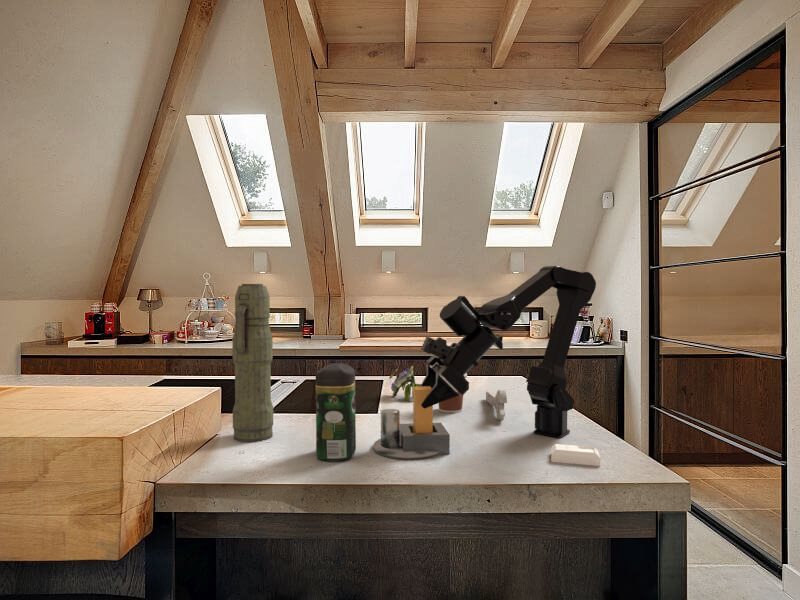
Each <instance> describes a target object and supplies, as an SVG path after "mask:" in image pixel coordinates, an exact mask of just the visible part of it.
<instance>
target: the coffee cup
mask: <svg viewBox="0 0 800 600" xmlns="http://www.w3.org/2000/svg"><path fill="white" fill-rule="evenodd" d="M464 377H465V379H466V378H468V374H467V373H466V374H465V375H464ZM457 393H458V394H459V396H458V397H457V396H456V397H453V398H451V399H448V400H445V401H443V402H440V403H438V411H439V412H441V413H444V412H445V414H458V413H457V412H459V413H461V412H463V401H464V395H463V396H462V395H461V394H460V393H459V392H457Z"/></svg>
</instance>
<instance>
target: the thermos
mask: <svg viewBox="0 0 800 600" xmlns="http://www.w3.org/2000/svg"><path fill="white" fill-rule="evenodd" d="M270 301H271V300H270V294H269V291H268V288H267V286H266V285H264V284H263V283H241V285H238V286H237V290H236V293H235V296H234V315H235V316H234V318H235V325H234V333H233V335H232V362H233V364H234V405H233V409H232V428H233V440H234V441H236V440H237V441H236V442H239V441H242V442H241V443H258V442H257V441H259V442H263V440H264V441H267V440H270V439H271V438H273V434H274V433H273V425H274V405H273V403H272V399H271V398H272V397H271V396H272V395H271V393H272V391H271V389H272V387H271V384H272V383H271V382H272V380H271V378H272V377H271V376H272V374H271V372H272V371H271V369H272V368H271V367H272V366H271V363H272V361H273V354H274V353H273V350H274V348H273V338H274V337H273V334H272V332H271V331H272V330H271V326H270V325H271V324H270V319H269V318H270V316H271V315H270V314H271V312H270V311H271V309H270V305H271V304H270Z"/></svg>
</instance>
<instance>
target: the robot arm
mask: <svg viewBox="0 0 800 600" xmlns="http://www.w3.org/2000/svg"><path fill="white" fill-rule="evenodd" d="M596 287H597V282H596V279H595V278H594V276H593V274H592V273H591V272H588V271H577V270H572V269H567V268H564V267H562V266H559V265H545V266H543V267H541V268H540V269H539V271H537V272H536V273H534V274H533V275H532V276H531V277H530V278H527V280H525V281H524V282H523V283H521V284H519V286H517V287H516V288H515V289H513V290H512V291H510V292H509V293H508V294H505V295H504V296H501V297H497V298H494V299H492V300H490V301H487V302H485V303H484V304H482V306H480V308H478V309H476V308H475V307H474V306H473V305H472V304H471V303H470V301H469V300H468V298H467V297H466V296H465V295H458V296H457V297H456V298H455V299H454V300H452V301H450V302H449V303H448V304H446V305H444V306H443V307H442V309H441V310H440V312H439V318H440V319H441V321H442V322H443V323H445V325H446V326H447V327H448V328H449V329H450V330H451V331H452V332H453V333H454V334H455V335H456V336H458V337H462V336H463V337H462V338H461V339H460V340H459V341H458V342H452V343H451V344H450V345H448V344H447V339H444V338H442V337H440V336H438V337H436V339H434V338H433V337H430V336H427V335H426V337H425V338H424V341H423V343H422V345H421V348H420V349H421V351H423V352H424V353H426V354H429V355H430V354H431V355H432V356H430V358H428V359H427V360H426V362H427V363H426V364H425V367H426V375H425V377H424V379H423V380H422V382H421V383H420V384H421V386H430V387H431V388H432V389H431V391H430V392H429V394H428V395H427V396H426V398H425V399H424V401H423V402H422V404H421V406H422V407H423V408H424V409H425V408H428V407H430V406H433V407H434V406H435V405H439V403H440V402H443V401H445V400H448V399H451V398H453V397H456V396H457V397H458V396H459V394H458V393H457V392H459V393H460V394H461V395H462V396H463V397H464V395H465V394H466V393H467V392H468V391H469V390H470V381H468V380H467V379H466V378H465V377H464V375H465V374H467V373H468V372H469V371H470V370H471V368H473V367H475V368H476V367H478V365H479V364H480V363H479V362H478V361H480V359H481V358H482V357H483V356H484V355H485V354H486V353H487V352H488V351H490V349H491V348H492V347H493V346H494V347H496V348H497V349H499V350H503V348H504V344H503V339H504V337H503V335H500V334H496V333H494V331H493V330H499V331H507V330H510V329H511V328H512V327H513V326H514V325H515V324H516V323H517V321H519V319H520V317H521V316H522V312H523V310H524V309H526V308H527V307H528V306H529V305H530V304H532V303H533V302H535V301H536V300H537V299H539V297H541V296H542V295H543V294H545V293H546V292H547V291H549V290H550V289H551V288H553V289H556V298H557V300H558V304H559V305H558V309H557V312H556V314H555V318H554V322H553V326H552V328H551V332H550V334H549V338H548V342H547V344H546V348H545V352H544V355H543V359H542V361H541V362H540V363H539V364H538V365H537V366H536V365H531V366H530V369H529V374H528V377H527V379H526V380H525V382H526V383H527V385H526V391H527V392H528V395H529V397H530V401H531V404H532V405H536V411H534V429H535V430H533V433H534V434H537V435H542V436H548V437H553V438H559V439H560V438H562V437H564V436H566V435H567V434H569V433H570V432H571V430H570V429H568V412H569V410H570V411H571V410H573V409H574V406H575V399H574V398H573V397H572V395H571V394H570V393H569V392H568V391H567V381H568V380H567V379H568V378H567V376H566V375H567V374H566V372H565V371H566V370H565V364H566V361H567V357H568V353H569V350H570V346H571V344H572V341H573V337H574V334H575V330H576V326H577V324H578V323H577V322H578V320H579V316H580V313H581V310H582V309H583V308H584V307H585V306H586V305H587V304H588V303H589V302H590V301H591V300H592V297H593V295H594V293H595V290H596Z"/></svg>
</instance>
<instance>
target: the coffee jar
mask: <svg viewBox="0 0 800 600" xmlns="http://www.w3.org/2000/svg"><path fill="white" fill-rule="evenodd" d="M355 371H356V370H355V369H354V367H352V366H351V365H349V363H343V362H342V363H337V362H336V363H329V364H328V365H326V366H323V367H322V368H320V369H319V370H317V372H315V383H314V385H315V423H316V425H315V427H316V430H315V431H316V433H315V436H316V437H315V455H316V458H317V459H318V460H322V461H327V462H334V461H335V462H340V461H345V460H349V459H352V457H353V456H354V455H355V453H356V449H357V447H356V446H357V445H356V444H357V436H356V434H357V433H356V432H357V431H356V372H355Z"/></svg>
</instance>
